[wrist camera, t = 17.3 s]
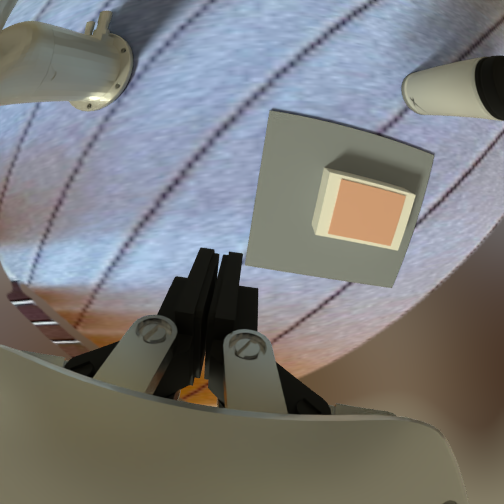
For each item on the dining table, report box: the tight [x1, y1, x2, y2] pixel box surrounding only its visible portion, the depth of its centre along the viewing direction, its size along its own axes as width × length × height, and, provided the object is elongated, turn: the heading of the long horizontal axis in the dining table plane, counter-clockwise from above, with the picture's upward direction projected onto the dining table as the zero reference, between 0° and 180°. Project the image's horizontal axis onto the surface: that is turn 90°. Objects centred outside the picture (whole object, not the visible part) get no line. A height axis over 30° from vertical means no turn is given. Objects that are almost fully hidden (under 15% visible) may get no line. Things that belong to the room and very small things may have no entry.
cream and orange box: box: [312, 167, 415, 251], centre depth 35 cm, size 8×4×12 cm
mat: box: [245, 111, 434, 288], centre depth 37 cm, size 22×24×1 cm
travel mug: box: [401, 56, 504, 121], centre depth 20 cm, size 6×7×20 cm
